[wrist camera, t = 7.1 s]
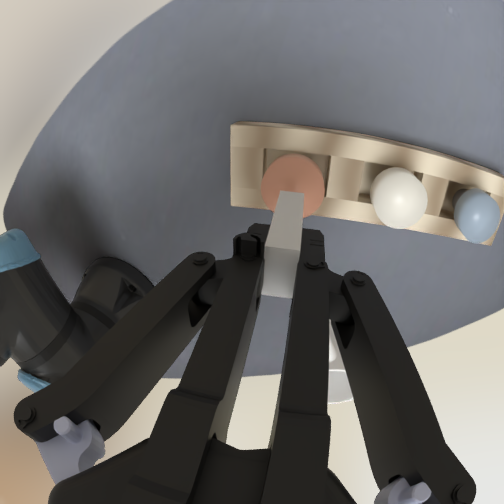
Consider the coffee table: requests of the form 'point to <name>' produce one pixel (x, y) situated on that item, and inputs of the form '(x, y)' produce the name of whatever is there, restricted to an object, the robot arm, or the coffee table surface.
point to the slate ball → (475, 214)
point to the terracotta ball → (293, 181)
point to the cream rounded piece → (398, 198)
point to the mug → (337, 374)
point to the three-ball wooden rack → (356, 172)
